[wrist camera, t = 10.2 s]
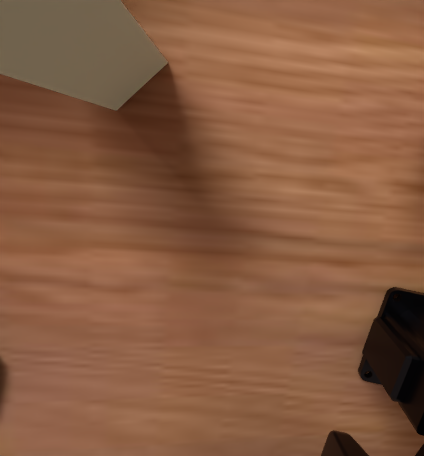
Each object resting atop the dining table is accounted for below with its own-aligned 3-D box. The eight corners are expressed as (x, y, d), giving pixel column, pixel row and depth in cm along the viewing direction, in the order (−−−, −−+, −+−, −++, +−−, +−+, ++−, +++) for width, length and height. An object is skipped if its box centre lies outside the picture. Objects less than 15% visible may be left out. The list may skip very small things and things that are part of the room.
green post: (168, 62, 18) (19, -130, 6) (116, 110, 19) (-117, 37, 6) (120, 0, 18) (-166, -370, 5) (68, 52, 18) (-289, -155, 6)
